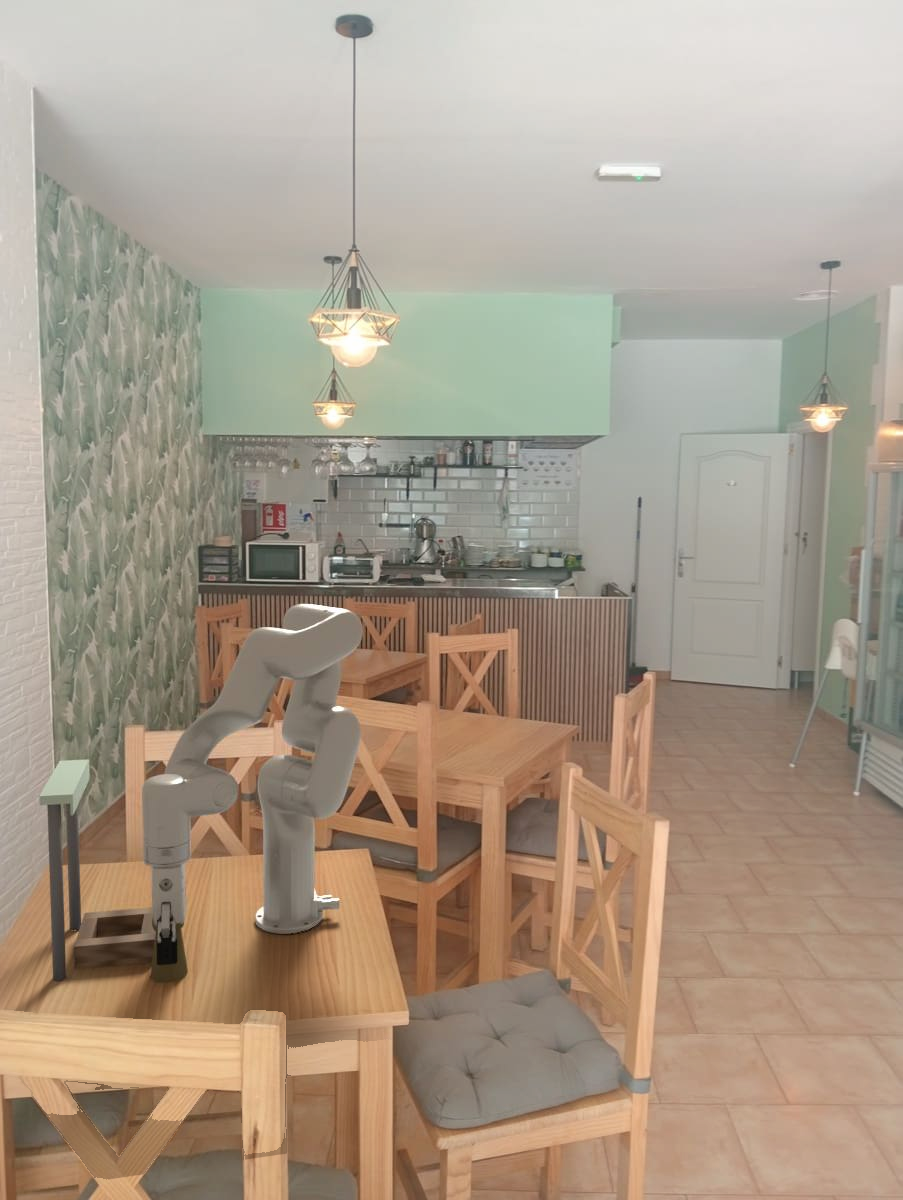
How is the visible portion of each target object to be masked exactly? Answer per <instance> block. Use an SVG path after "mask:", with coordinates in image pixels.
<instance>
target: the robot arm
mask: <svg viewBox="0 0 903 1200" xmlns="http://www.w3.org/2000/svg"><path fill="white" fill-rule="evenodd" d="M283 616H284V617H283V621H282V627H283V628H277V627H268V626H265V627H263V626H262V627H258V628H256V629H254V630H252V631H251V632H250V633H249V634H248V635H247V637H246V638H245V640H244V642H243V644H242V646H241V648H240V650H239V652H238V655H237V657H236V659H235V661H234V664H233V666H232V668H231V669H230V672H229V675H228V677H227V679H226V681H225V683H224V686H223V688H222V689H221V692H220V693H219V696H218V698H217V700H216V701H215V702H214V704H213V705H211V706H210V707H209V708H208V709H206V710H205V711H204V712H203V713H201V714H200V716H198V717H197V718H196V719H195V720H194V721H193V722H192V723H190V725H189V726H187V728H186V729H185V730H184V732H183V733H182V734H181V736H180V737H179V738H178V740H177V742H176V744H175V747H174V748H173V751H172V753H171V755H170V758H169V759H168V762H167V764H166V766H165V770H164V773H163V774H157V775H155V776H151V777H149V778H147V779H146V780H145V781H144V783H143V784H142V788H141V789H142V790H141V802H142V803H141V804H142V805H141V808H142V811H141V812H142V813H141V814H142V815H141V816H142V854H143V855H142V857H143V858H142V859H143V860H142V861H143V863H144V864H145V866H148V867H150V877H151V879H150V881H151V882H150V883H151V886H150V887H151V902H152V903H151V904H152V905H151V907H153V920H154V924H155V925H156V926H158V941H157V965H168V964H176V963H177V961H178V953H177V939H176V923H180V924H183V923H184V924H185V921H186V912H187V888H186V887H187V882H186V863H187V862H189V861H190V860H191V857H192V854H191V852H192V850H191V847H192V846H191V818H194V817H201V816H202V817H203V816H212V815H216V814H221V813H223V812H226V811H227V810H228V809H230V808H231V807H232V806H233V805H234V804H235V803H236V802H237V800H238V796H239V792H240V791H239V789H240V788H239V784H238V781H237V779H236V778H235V777H234V776H233V775H232V774H231V773H229V772H228V771H226V770H224V769H221V768H217V767H214V766H212V765H208V764H207V761H208V759H209V758H210V755H211V754H212V752H213V751H214V749H215V748H216V747H217V746H218V744H220V743H221V742H222V741H223V740H224V739H225V738H227V737H228V736H230V735H232V734H234V733H237V732H239V731H241V730H244V729H245V730H246V729H247V728H249V727H253V726H255V725H257V724H259V723H260V722H261V721H262V720H263V719H264V717H265V715H266V712H267V710H268V708H269V706H270V702H271V701H272V698H273V696H274V695H275V691H276V689H277V687H278V685H279V683H280V681H281V679H287V680H292V681H294V683H293V686H292V689H291V693H290V696H289V700H288V703H287V707H286V710H285V712H284V713H285V714H284V715H283V720H282V724H281V736H282V740H284V741H283V742H285V743H286V744H287V745H288V746H290V747H292V748H294V749H297V750H300V751H304V752H307V753H310V754H313V755H314V756H313V760H310V759H307V758H304V757H299V756H296V755H292V754H279V755H273V756H272V757H270V758H269V759H267V760H266V761H265V762H264V764H262V766H261V768H260V770H259V772H258V776H257V793H258V799H259V803H260V807H261V814H262V828H263V830H262V832H263V836H262V840H263V841H262V842H263V845H262V847H263V849H262V850H263V851H262V854H263V855H262V857H263V861H262V862H263V863H262V864H263V867H262V868H263V869H262V870H263V873H262V874H263V875H262V876H263V881H262V882H263V883H262V884H263V891H262V892H263V906H262V907H260V908H259V909H258V910H257V911H256V913H255V916H254V920H255V921H254V922H255V924H256V926H257V927H258V928H259V929H261V930H262V931H265V932H268V933H272V934H276V935H277V934H279V935H287V934H288V935H292V934H291V933H293V934H298V933H297V932H299V933H301V932H300V931H304V930H307V931H309V930H308V929H310V928H312V927H314V926H315V927H317V926H318V925H319V924H320V923H321V922H322V921H323V919H322V918H323V916H324V915H323V914H324V912H323V911H325V910H330V911H332V910H340V899H339V898H332V894H327V895H326V894H325V895H319V894H317V892H316V888H315V877H316V876H315V870H316V869H315V862H316V861H315V858H316V857H315V853H316V852H315V851H316V850H315V849H316V848H315V846H316V845H315V844H316V842H315V841H316V832H315V831H316V828H315V821H314V819H317V820H318V819H320V820H322V819H323V820H324V819H327V818H329V817H331V816H333V815H334V814H336V812H338V810H339V808H340V807H341V806H342V804H343V801H344V800H345V796H346V793H347V791H348V787H349V784H350V781H351V780H350V779H351V777H352V773H353V769H354V766H355V762H356V760H357V759H356V758H357V755H358V752H359V749H360V743H361V737H362V736H361V733H362V731H361V725H360V721H359V719H358V717H357V716H356V714H355V713H354V711H352V710H351V709H349V708H346V707H343V706H340V705H337V699H338V695H339V690H340V686H341V682H342V670H341V664H340V661H341V660H344V659H345V658H346V657H348V656H349V655H351V654H352V653H353V652H354V651H355V650H357V648H358V647H359V645H360V644H361V641H362V639H363V638H362V637H363V634H364V628H363V627H364V626H363V623H362V621H361V619H360V617H359V616H358V615H357V614H356V613H354V612H353V611H351V610H348V609H345V608H339V607H331V606H325V605H318V604H309V603H298V604H295V605H292V606H290V607H289V608H288V609H287V611H286V612H285V614H284V615H283ZM170 908H171V909H170ZM170 918H173V921H170ZM161 919H162V922H161ZM321 920H322V921H321ZM320 921H321V922H320ZM319 922H320V923H319ZM318 923H319V924H318ZM317 924H318V925H317ZM316 925H317V926H316ZM170 926H172V931H171V930H170ZM315 927H314V928H315ZM312 929H313V928H312ZM310 930H311V929H310ZM304 932H305V931H304Z"/></svg>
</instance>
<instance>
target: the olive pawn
mask: <svg viewBox="0 0 903 1200" xmlns="http://www.w3.org/2000/svg"><path fill="white" fill-rule="evenodd" d="M170 909H171V908H170ZM170 921H173V918H170ZM161 922H162V919H161ZM184 924H185V922H184V923H183V924H180V923H176V939H177V953H178V961H177V963H176V964H168V965H157V941H158V926H156V925H155V924H154V920H153V919H152V927H153V929H154V931H155V932H156V934H155V942H154V950H153V959H152V962H151V969H150V975H149V977H150V979H151V980H153V981H154V982H155V983H160V984H161V983H164V984H165V983H166V984H167V983H173V982H176V981H180V980H181V979H183V978H184V977H186V976H187V975H188V972H189V971H188V963H187V958H186V950H185V944H184V938H183V932H182V928H183V927H184ZM170 930H171V931H172V926H170Z"/></svg>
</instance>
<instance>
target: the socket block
mask: <svg viewBox="0 0 903 1200" xmlns="http://www.w3.org/2000/svg"><path fill="white" fill-rule="evenodd" d="M152 919H153V907H152V906H151V907H141V908H140V907H139V908H129V909H126V908H125V909H117V910H116V909H115V910H114V909H113V910H104V911H103V910H102V911H92V912H91V911H90V912H84V913H83V917H82V919H81V926H80V929H79V930H78V933H77V936H76V938H75V939H76V940H75V942H74V945H73V956H74V957H73V959H74V970H81V969H91V968H102V967H103V968H104V967H113V966H124V965H134V964H142V963H143V964H145V963H152V959H153V950H154V942H155V934H156V932H155V931H154V929H153V927H152Z"/></svg>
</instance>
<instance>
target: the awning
mask: <svg viewBox="0 0 903 1200" xmlns="http://www.w3.org/2000/svg"><path fill="white" fill-rule="evenodd" d="M90 771H91V770H90V759H73V760H72V759H69V760H67V759H66V760H59V761H58V763H57V765H56V766H55V769H54V770H53V771H52V774H51V775H50V777H49V779H48V781H46V784H45V785H44V787H43V789H42V791H41V792H40V794H39V806H47V828H48V829H47V831H48V832H47V833H48V835H47V836H48V861H49V862H48V864H49V867H48V868H49V895H50V898H49V899H50V923H51V924H50V926H51V928H50V929H51V930H50V931H51V954H52V956H51V958H52V980H53V981H55V982H61V981H64V980H65V979H66V978H67V969H66V968H67V967H66V966H67V964H66V963H67V962H66V961H67V960H66V934H65V933H66V930H65V929H66V927H65V903H64V902H65V899H64V898H65V897H64V862H63V834H62V833H63V831H62V830H63V829H62V828H63V827H62V805H65V813H66V814H65V815H66V817H65V818H66V819H65V820H66V821H65V822H66V846H67V847H66V849H67V854H66V855H67V856H66V857H67V878H68V879H67V883H68V885H67V886H68V917H69V919H68V921H69V931H70V930H73V931H72V932H75V931H74V930H78V931H79V929H80V926H81V923H82V904H81V902H82V901H81V872H80V871H81V865H80V863H81V862H80V861H81V860H80V832H79V831H80V830H79V829H80V828H79V826H80V825H79V803H80V801H81V798H82V796H83V795H84V792H85V789H86V788H87V785H88V783H89V781H90V776H91V775H90Z"/></svg>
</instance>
